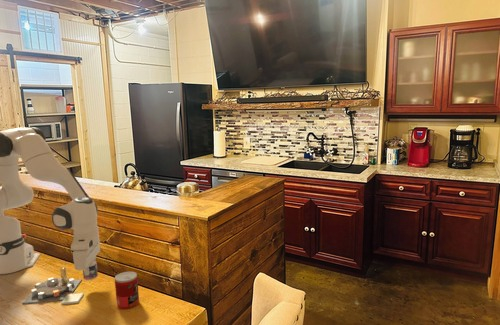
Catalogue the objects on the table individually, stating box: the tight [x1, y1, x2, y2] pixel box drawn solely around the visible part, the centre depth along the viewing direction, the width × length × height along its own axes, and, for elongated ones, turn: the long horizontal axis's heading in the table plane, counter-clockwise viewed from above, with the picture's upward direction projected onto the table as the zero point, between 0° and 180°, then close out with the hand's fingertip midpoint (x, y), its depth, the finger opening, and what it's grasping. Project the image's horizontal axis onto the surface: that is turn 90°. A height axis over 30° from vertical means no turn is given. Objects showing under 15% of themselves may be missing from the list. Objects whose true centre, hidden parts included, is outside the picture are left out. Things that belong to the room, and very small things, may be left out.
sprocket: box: [31, 266, 75, 299], centre depth 140 cm, size 15×15×9 cm
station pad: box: [60, 292, 84, 306], centre depth 134 cm, size 6×6×1 cm
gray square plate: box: [22, 279, 82, 305], centre depth 141 cm, size 16×17×1 cm
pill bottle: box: [82, 257, 99, 281], centre depth 141 cm, size 5×5×9 cm
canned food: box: [114, 271, 140, 310], centre depth 129 cm, size 8×8×11 cm
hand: (90, 270), depth 141 cm, fingers closed on pill bottle, 5 cm apart
